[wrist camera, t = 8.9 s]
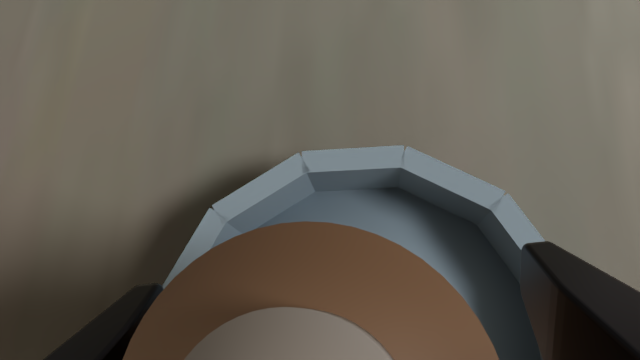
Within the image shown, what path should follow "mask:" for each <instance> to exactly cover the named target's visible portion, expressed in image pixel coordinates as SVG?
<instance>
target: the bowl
mask: <svg viewBox="0 0 640 360" xmlns="http://www.w3.org/2000/svg"><path fill="white" fill-rule="evenodd" d="M504 193H505V191H504V190H502V189H500V188H498V187H496V186H493V185H491V184H489V183H487V182H485V181H483V180H480V179H478V178H476V177H474V176H472V175H469V174H467V173H465V172H463V171H461V170H459V169H456V168H454V167H452V166H450V165H448V164H445V163H443V162H441V161H439V160H437V159H435V158H432V157H430V156H428V155H426V154H424V153H422V152H419V151H417V150H415V149H413V148H411V147H408V146H407V148H406V150H405V152H404V145H399V146H382V147H365V148H348V149H331V150H314V151H302V157H301V156H300V154H299V152H298V153H297V154H295V155H293V156H292V157H290V158H288V159H287V160H285V161H284V162H282V163H280V164H279V165H277V166H275V167H274V168H272V169H270V170H269V171H267V172H265V173H264V174H262V175H261V176H259V177H257V178H256V179H254V180H252V181H251V182H249V183H247V184H246V185H244V186H243V187H241V188H239V189H238V190H236V191H234V192H233V193H231V194H229V195H228V196H226V197H225V198H223V199H221V200H220V201H218V202H216V203H215V204H213V205H212V207H213V208H214V210H213V209H211V208H209V209H208V211H207V213H206V214H205V216H204V218H203V219H202V221H201V222H200V224H199V226H198V227H197V229H196V231H195V232H194V234H193V236H192V237H191V239H190V241H189V242H188V244H187V246H186V247H185V249H184V251H183V252H182V254H181V256H180V257H179V259H178V261H177V262H176V264H175V266H174V267H173V269H172V271H171V272H170V274H169V276H168V277H167V279H166V281H165V282H164V284H163V286H162V287H163V289H165V287H166V286H167V285H168V284H169V283H170V282H171V281H172V280H173V279H174V277H176V276H177V275H178V274H179V273H180V272H181V271H182V270H184V269H185V268H186V267H187V266H188V265H189V264H190V263H192V262H193V261H194V260H196V259H197V258H198V257H200V256H201V255H203V254H204V253H206V252H207V251H209V250H210V249H212V248H213V247H215V246H217V245H219V244H221V243H223V242H225V241H227V240H229V239H231V238H233V237H235V236H238V235H240V234H243V233H246V232H249V231H252V230H254V229H257V228H262V227H266V226H271V225H275V224H280V223H291V222H302V221H309V222H329V223H335V224H341V225H346V226H352V227H356V228H359V229H362V230H365V231H368V232H371V233H374V234H377V235H380V236H382V237H384V238H386V239H388V240H390V241H392V242H395V243H397V244H399V245H401V246H402V247H404V248H406V249H407V250H409V251H410V252H412V253H413V254H415V255H417V256H418V257H420V258H421V259H423V260H424V261H425V262H426V263H428V264H429V265H430V266H431V267H432V268H434V269H435V270H436V271H437V272H439V273H440V274H441V275H442V276H443V277H444V278H445V279H446V280H447V281H448V282H449V283H450V284H451V285H452V286H453V287H454V288H455V289H456V291H457V292H458V293H459V294H460V295H461V296H462V297H463V298H464V300H465V301H466V302H467V304H468V305H469V307H470V308H471V309H472V311H473V312H474V313H475V315H476V316H477V317H478V319H479V320H480V322H481V324H482V326H483V328H484V329H485V331H486V333H487V335H488V337H489V338H490V340H491V342H492V344H493V346H494V348H495V351H496V353H497V356H498V358H499V360H543V358H542V355H541V352H540V349H539V346H538V343H537V340H536V337H535V334H534V331H533V328H532V325H531V322H530V319H529V316H528V313H527V310H526V308H525V305H524V302H523V299H522V295H521V290H520V265H521V250H522V247H523V245H524V244H526V243H533V242H542V241H545V240H544V239H543V238H542V236H541V235H540V234H539V233H538V231H537V230H536V229H535V227H534V226H533V225H532V223H531V222H530V221H529V220H528V218H527V217H526V216H525V214H524V213H523V212H522V210H521V209H520V208H519V207H518V205H517V204H516V203H515V201H514V200H513V199H512V198H511V196H510V195H509V194H506V195H505V196H503V195H504Z"/></svg>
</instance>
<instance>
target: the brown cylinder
mask: <svg viewBox="0 0 640 360" xmlns="http://www.w3.org/2000/svg"><path fill="white" fill-rule="evenodd" d="M123 360H499V358H498V356H497V353H496V351H495V348H494V346H493V344H492V342H491V340H490V338H489V337H488V335H487V333H486V331H485V329H484V328H483V326H482V324H481V322H480V320H479V319H478V317H477V316H476V315H475V313H474V312H473V311H472V309H471V308H470V307H469V305H468V304H467V302H466V301H465V300H464V298H463V297H462V296H461V295H460V294H459V293H458V292H457V291H456V289H455V288H454V287H453V286H452V285H451V284H450V283H449V282H448V281H447V280H446V279H445V278H444V277H443V276H442V275H441V274H440V273H439V272H437V271H436V270H435V269H434V268H432V267H431V266H430V265H429V264H428V263H426V262H425V261H424V260H423V259H421V258H420V257H418V256H417V255H415V254H413V253H412V252H410V251H409V250H407V249H406V248H404V247H402V246H401V245H399V244H397V243H395V242H392V241H390V240H388V239H386V238H384V237H382V236H380V235H377V234H374V233H371V232H368V231H365V230H362V229H359V228H356V227H352V226H346V225H341V224H335V223H329V222H309V221H302V222H291V223H280V224H275V225H271V226H266V227H262V228H257V229H254V230H252V231H249V232H246V233H243V234H240V235H238V236H235V237H233V238H231V239H229V240H227V241H225V242H223V243H221V244H219V245H217V246H215V247H213V248H212V249H210V250H209V251H207V252H206V253H204V254H203V255H201V256H200V257H198V258H197V259H196V260H194V261H193V262H192V263H190V264H189V265H188V266H187V267H186V268H185V269H184V270H182V271H181V272H180V273H179V274H178V275H177V276H176V277H174V279H173V280H172V281H171V282H170V283H169V284H168V285H167V286H166V287H165V289H164V290H163V291H162V292H161V293H160V294H159V295H158V296H157V298H156V299H155V301H154V302H153V303H152V305H151V306H150V308H149V309H148V311H147V312H146V313H145V315H144V316H143V318H142V320H141V322H140V323H139V325H138V327H137V329H136V331H135V333H134V334H133V336H132V338H131V340H130V342H129V345H128V347H127V350H126V352H125V355H124V357H123Z"/></svg>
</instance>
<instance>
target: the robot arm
mask: <svg viewBox="0 0 640 360" xmlns="http://www.w3.org/2000/svg"><path fill="white" fill-rule="evenodd" d="M163 290H164V289H163V287H162V286H161V285H160V284H158V283H152V284H143V285H137V286H135V287H134V288H132V289H131V290H130V291H129V292H127V293H126V294H125V295H124V296H122V297H121V298H120V299H119V300H117V301H116V302H115V303H114V304H112V305H111V306H110V307H109V308H107V309H106V310H105V311H104V312H102V313H101V314H100V315H99V316H97V317H96V318H95V319H94V320H92V321H91V322H90V323H89V324H87V325H86V326H85V327H84V328H82V329H81V330H80V331H79V332H77V333H76V334H75V335H74V336H72V337H71V338H70V339H69V340H67V341H66V342H65V343H63V344H62V345H61V346H60V347H58V348H57V349H56V350H55V351H53V352H52V353H51V354H50V355H48V356H47V357H46V358H45V359H43V360H123V357H124V355H125V352H126V350H127V347H128V345H129V342H130V340H131V338H132V336H133V334H134V333H135V331H136V329H137V327H138V325H139V323H140V322H141V320H142V318H143V316H144V315H145V313H146V312H147V311H148V309H149V308H150V306H151V305H152V303H153V302H154V301H155V299H156V298H157V296H158V295H159V294H160V293H161V292H162V291H163ZM520 290H521V295H522V299H523V302H524V305H525V308H526V310H527V313H528V316H529V319H530V322H531V325H532V328H533V331H534V334H535V337H536V340H537V343H538V346H539V349H540V352H541V355H542V358H543V360H640V292H639V291H637V290H635V289H634V288H632V287H630V286H628V285H626V284H625V283H623V282H621V281H619V280H618V279H616V278H614V277H612V276H610V275H609V274H607V273H605V272H603V271H601V270H600V269H598V268H596V267H594V266H593V265H591V264H589V263H587V262H585V261H584V260H582V259H580V258H578V257H576V256H575V255H573V254H571V253H569V252H568V251H566V250H564V249H562V248H560V247H559V246H557V245H555V244H553V243H551V242H548V241H542V242H533V243H526V244H524V245H523V247H522V250H521V265H520Z"/></svg>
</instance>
